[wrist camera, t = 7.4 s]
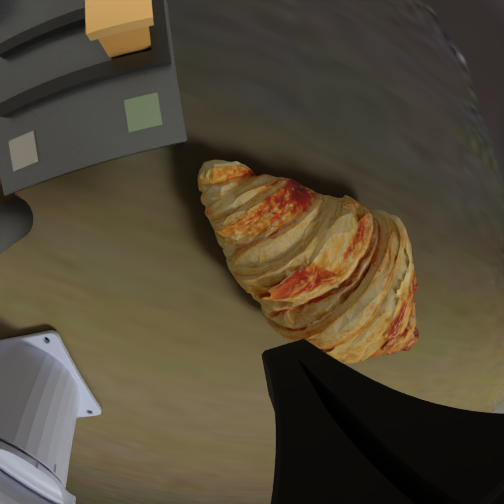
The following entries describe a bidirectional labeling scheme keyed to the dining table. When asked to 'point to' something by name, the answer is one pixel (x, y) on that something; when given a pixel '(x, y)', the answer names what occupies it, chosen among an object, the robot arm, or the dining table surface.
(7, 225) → the cylinder
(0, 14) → the panel
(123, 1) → the switch knob
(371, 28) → the dining table surface
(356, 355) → the croissant
